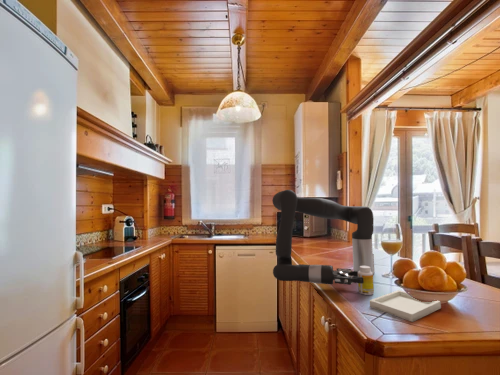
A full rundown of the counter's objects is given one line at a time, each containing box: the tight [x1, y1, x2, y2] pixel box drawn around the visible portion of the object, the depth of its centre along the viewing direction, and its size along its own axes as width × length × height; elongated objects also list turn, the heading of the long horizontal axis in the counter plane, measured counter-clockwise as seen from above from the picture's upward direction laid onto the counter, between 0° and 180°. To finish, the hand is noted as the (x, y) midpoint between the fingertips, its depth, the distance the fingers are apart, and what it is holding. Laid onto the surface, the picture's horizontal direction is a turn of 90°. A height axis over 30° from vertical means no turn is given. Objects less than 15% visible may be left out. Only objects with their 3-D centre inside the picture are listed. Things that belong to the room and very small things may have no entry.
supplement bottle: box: [357, 266, 375, 296], centre depth 105 cm, size 6×6×10 cm
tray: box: [369, 289, 442, 323], centre depth 90 cm, size 18×14×2 cm
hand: (363, 277), depth 105 cm, fingers open, 8 cm apart
